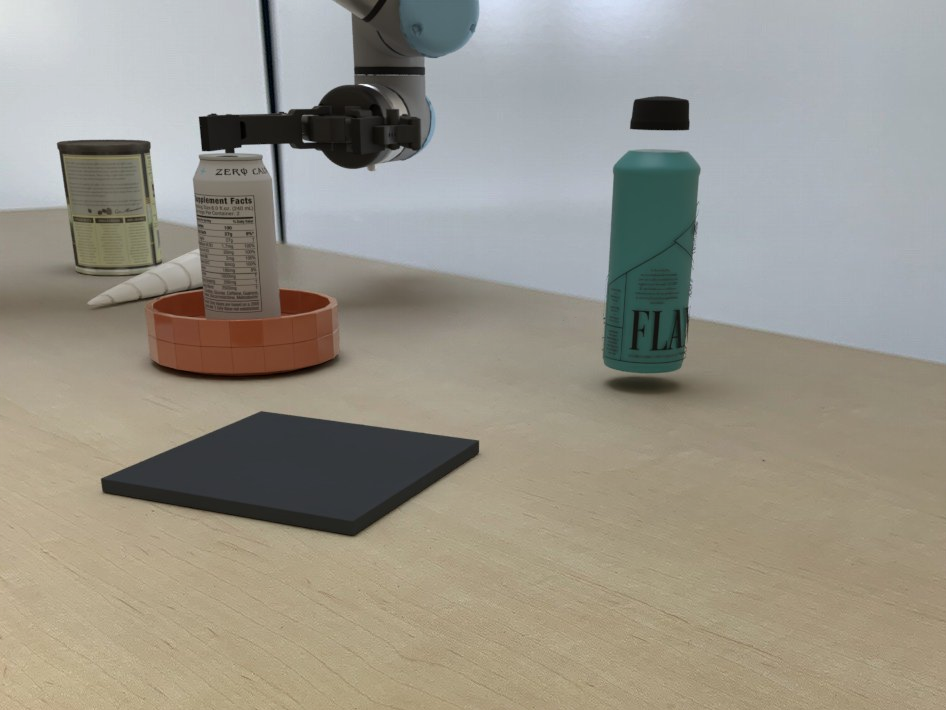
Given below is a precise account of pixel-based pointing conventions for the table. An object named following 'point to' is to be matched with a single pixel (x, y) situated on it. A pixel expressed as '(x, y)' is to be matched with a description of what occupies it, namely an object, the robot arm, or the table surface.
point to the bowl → (243, 335)
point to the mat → (296, 471)
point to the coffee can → (111, 206)
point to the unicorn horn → (157, 281)
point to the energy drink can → (236, 236)
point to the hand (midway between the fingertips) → (278, 135)
